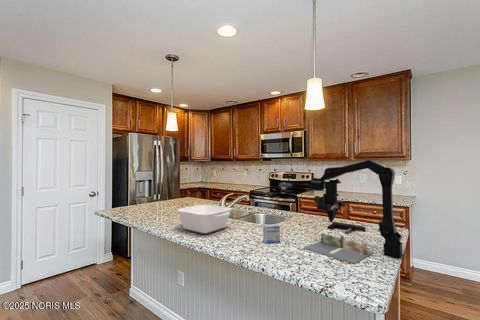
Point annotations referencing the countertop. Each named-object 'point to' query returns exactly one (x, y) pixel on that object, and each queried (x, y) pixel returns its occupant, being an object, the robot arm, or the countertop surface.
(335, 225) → the door handle
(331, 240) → the folding panel
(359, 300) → the countertop surface
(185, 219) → the tub
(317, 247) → the card
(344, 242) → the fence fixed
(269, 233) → the medicine box
